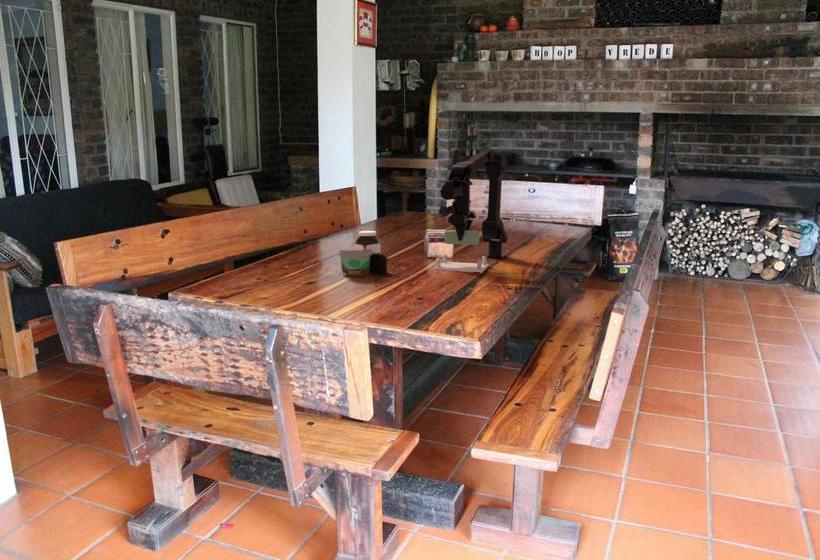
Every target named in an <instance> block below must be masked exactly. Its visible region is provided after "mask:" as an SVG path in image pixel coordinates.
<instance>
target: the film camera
mask: <svg viewBox="0 0 820 560" xmlns="http://www.w3.org/2000/svg"><path fill="white" fill-rule="evenodd" d="M361 251H362V250H361ZM388 261H389V259H388V258H387V257H386V256H385V255H384V253H381V252H380V253H373V252H372V255H370V267H369V274H373V275H386V274H387V272H388V270H387V268H388V267H387V262H388Z"/></svg>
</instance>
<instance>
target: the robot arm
mask: <svg viewBox="0 0 820 560" xmlns="http://www.w3.org/2000/svg"><path fill="white" fill-rule="evenodd" d="M451 167H452V168H451V170H450V172H449V175H448V178H447V179H446V180H445V182H444V184H443V185H442V186H441V188H440V191H439V192H440V197H441V198H442V199H443V200H445V201H451V200H453V201H451V205H448V206H447V205H446V204H444V205H441V206H440V207H439V209H438V214H439V215H440V217H441V218H442V219H443V218H445V217H447V223H448V224H451V225H452V226H453V227H454V230H456V232H457V236H458V240H459V241H462V238H463V236H464V233H465V231H470V229H471V226H472V224H473V222H474V219H476V212H475V211H474V210H471V207H470V206H471V205H470V204H471V203H472V200H471V186H473V182H472V181H471V179H472V178H473V177H474V176H475V173H476V171H477V170H479V169H480V168H481V167H484V168H485V175H486V176H487V178H488V197H487V198H488V199H487V200H488V201H487V216H486V218H485V219H484V220H483V221H482V222H481V225H482V227H481V236H482V241H483V242H484V243H487V255H486V259H503V258H504V257H505V254H503V244H506V243H508V239H509V237H508V235H507V232H506V230H505V229H504V227H505V226H504V222H503V221H502V218H501V203H502V201H501V200H502V199H501V198H502V186H503V185H502V181H503V180H504V177H506V175H507V169H508V161H507V160H506V159H505V157H503V156H502V155H499V154H498V153H496V152H495V151H493V150H492V149H482V150H480V151H479V153H477V154H475V155H474V156H472V157H471V158H469V159H468V160H467V161H462V162H461V161H460V162H457V163H454V164H453V165H452V166H451Z"/></svg>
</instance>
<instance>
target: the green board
mask: <svg viewBox="0 0 820 560" xmlns="http://www.w3.org/2000/svg"><path fill="white" fill-rule="evenodd" d="M479 243H480V230H469V231H465V233H464V236H463V238H462V241H459V240H458V236H457V232H456V229H448V230H445V231H444V245H445V244H448V245H469V246H470V245H471V246H472V245H473V246H474V245H475V246H476V245H479Z"/></svg>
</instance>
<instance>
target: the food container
mask: <svg viewBox="0 0 820 560" xmlns="http://www.w3.org/2000/svg"><path fill="white" fill-rule="evenodd" d="M337 255H338V256H339V257H340V264H341V265H340V266H341V273H342V276H343V277H347V278H352V279H354V278H355V279H358V278H366V277H368V276H369V274H370V273H369V267H370V255H372V250H371V248H370V249H369V250H362V251H361V250H352V251H350V250H343V249H339V250H338V253H337Z"/></svg>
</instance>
